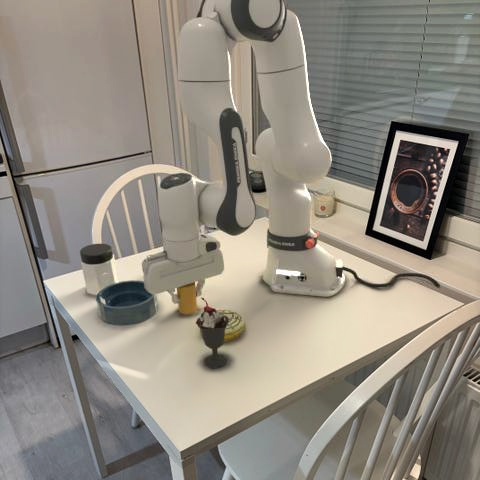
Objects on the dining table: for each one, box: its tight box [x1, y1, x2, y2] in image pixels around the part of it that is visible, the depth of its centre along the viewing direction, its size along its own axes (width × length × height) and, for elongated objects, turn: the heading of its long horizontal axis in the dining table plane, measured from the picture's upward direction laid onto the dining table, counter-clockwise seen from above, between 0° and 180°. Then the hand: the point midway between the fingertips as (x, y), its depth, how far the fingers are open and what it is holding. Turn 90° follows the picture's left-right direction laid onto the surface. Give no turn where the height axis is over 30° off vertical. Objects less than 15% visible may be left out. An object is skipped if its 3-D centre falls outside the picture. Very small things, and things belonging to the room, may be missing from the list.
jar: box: [79, 243, 120, 296], centre depth 131 cm, size 9×8×12 cm
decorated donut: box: [198, 308, 246, 342], centre depth 113 cm, size 10×11×4 cm
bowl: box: [95, 280, 159, 326], centre depth 122 cm, size 15×15×5 cm
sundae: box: [195, 297, 229, 369], centre depth 100 cm, size 7×7×15 cm
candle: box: [176, 282, 198, 315], centre depth 120 cm, size 5×5×8 cm
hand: (187, 298), depth 121 cm, fingers closed on candle, 4 cm apart
